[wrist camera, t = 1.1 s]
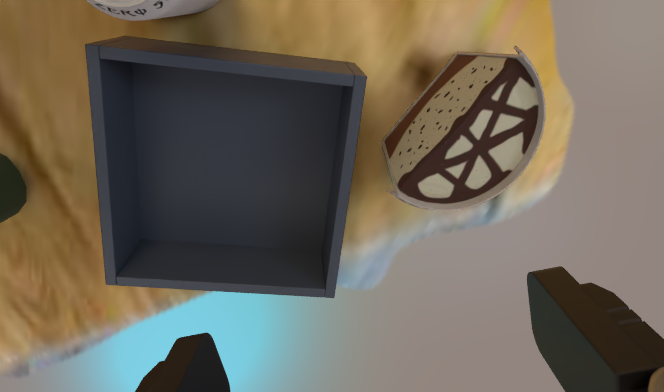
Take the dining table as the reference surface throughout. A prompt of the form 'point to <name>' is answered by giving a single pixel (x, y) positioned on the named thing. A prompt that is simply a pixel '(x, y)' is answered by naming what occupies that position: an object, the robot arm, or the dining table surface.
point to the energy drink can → (150, 8)
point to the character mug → (10, 189)
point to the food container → (467, 132)
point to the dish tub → (222, 165)
